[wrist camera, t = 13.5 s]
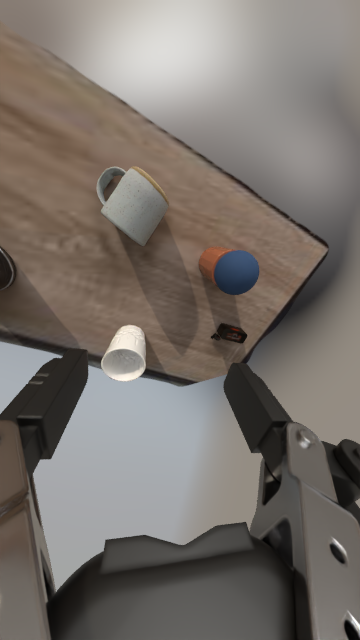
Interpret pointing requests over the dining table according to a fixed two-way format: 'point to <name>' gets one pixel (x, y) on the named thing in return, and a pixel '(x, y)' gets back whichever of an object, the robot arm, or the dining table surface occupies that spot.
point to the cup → (211, 261)
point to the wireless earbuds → (230, 333)
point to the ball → (236, 272)
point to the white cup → (125, 354)
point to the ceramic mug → (133, 202)
